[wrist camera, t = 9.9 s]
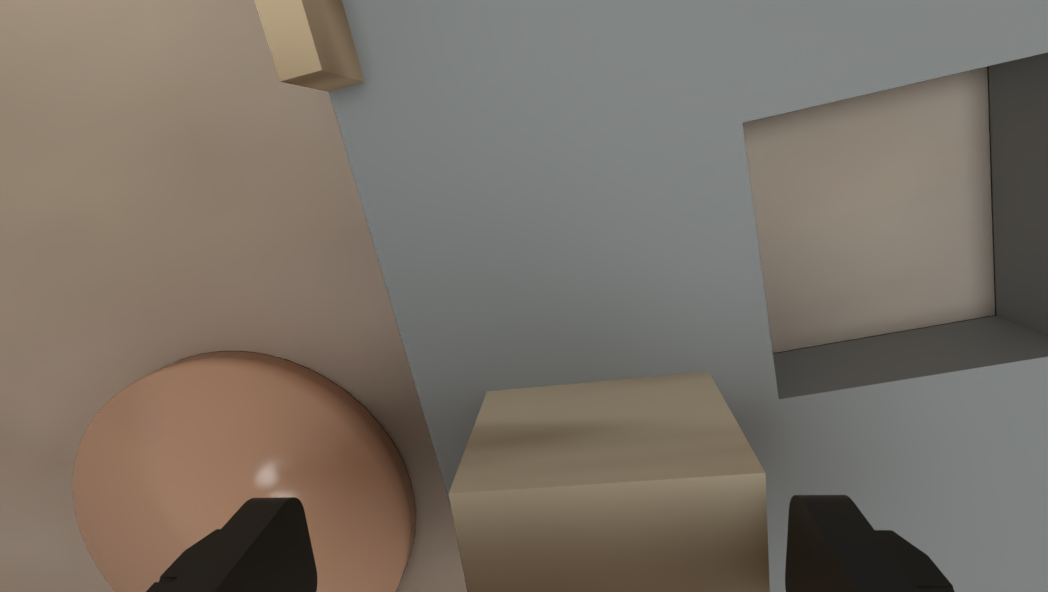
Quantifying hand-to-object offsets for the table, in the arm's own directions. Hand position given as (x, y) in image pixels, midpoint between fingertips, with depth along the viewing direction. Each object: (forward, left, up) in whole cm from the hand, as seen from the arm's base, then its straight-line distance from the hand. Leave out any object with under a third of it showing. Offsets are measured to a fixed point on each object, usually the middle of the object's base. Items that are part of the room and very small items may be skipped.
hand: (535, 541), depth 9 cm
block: (-2, -1, -4) cm, 4 cm away
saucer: (-2, +10, -7) cm, 12 cm away
